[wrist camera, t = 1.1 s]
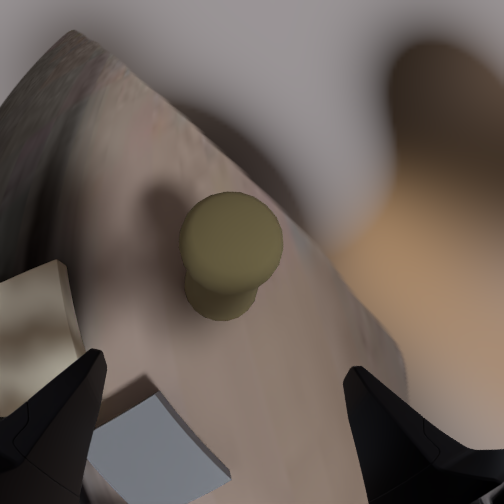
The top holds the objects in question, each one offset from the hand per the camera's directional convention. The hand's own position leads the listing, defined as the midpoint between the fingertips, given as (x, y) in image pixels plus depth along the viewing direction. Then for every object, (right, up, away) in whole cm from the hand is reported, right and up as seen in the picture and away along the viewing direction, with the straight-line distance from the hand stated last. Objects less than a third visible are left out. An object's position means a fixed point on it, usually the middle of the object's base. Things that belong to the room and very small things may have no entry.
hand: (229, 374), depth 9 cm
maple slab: (-19, -4, +9) cm, 21 cm away
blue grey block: (-7, -13, +8) cm, 17 cm away
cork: (-2, +1, +14) cm, 14 cm away
